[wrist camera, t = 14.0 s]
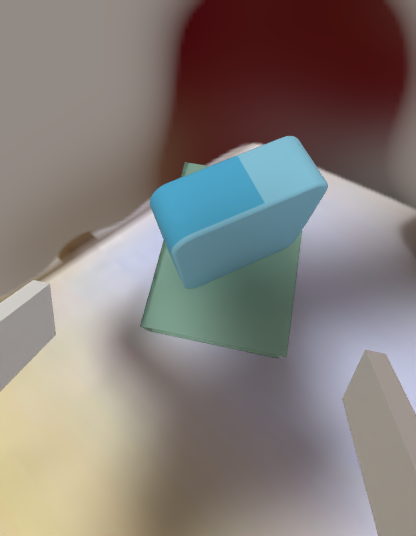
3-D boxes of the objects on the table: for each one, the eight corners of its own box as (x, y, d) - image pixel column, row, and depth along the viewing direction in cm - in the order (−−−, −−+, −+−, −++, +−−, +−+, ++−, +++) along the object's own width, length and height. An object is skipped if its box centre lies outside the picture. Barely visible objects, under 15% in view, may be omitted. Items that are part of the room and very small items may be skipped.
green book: (298, 200, 38) (307, 181, 34) (278, 358, 32) (286, 356, 29) (188, 182, 40) (185, 162, 36) (148, 331, 34) (140, 325, 30)
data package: (272, 210, 33) (302, 127, 22) (293, 245, 32) (336, 177, 21) (169, 254, 32) (144, 190, 21) (186, 292, 31) (169, 247, 19)
